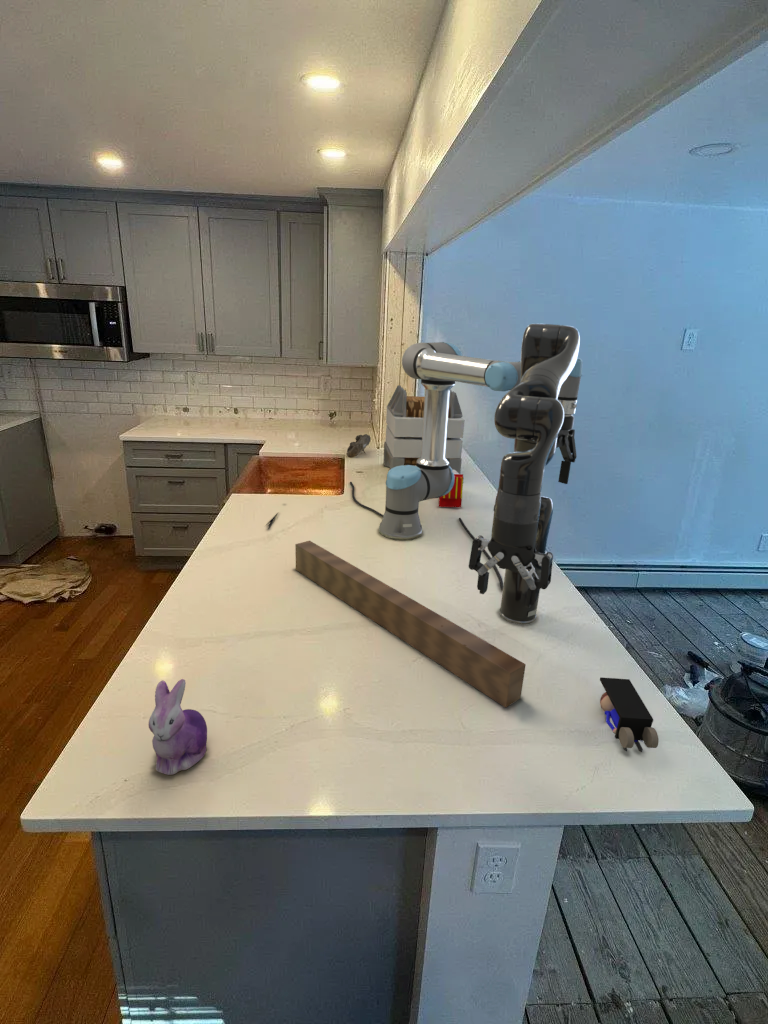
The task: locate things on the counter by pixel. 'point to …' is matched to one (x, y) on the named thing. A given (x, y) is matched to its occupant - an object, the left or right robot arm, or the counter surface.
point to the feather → (271, 521)
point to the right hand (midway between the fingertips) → (505, 598)
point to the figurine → (176, 730)
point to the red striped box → (453, 493)
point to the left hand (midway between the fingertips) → (549, 486)
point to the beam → (416, 625)
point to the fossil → (358, 445)
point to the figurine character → (627, 714)
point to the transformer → (418, 430)
